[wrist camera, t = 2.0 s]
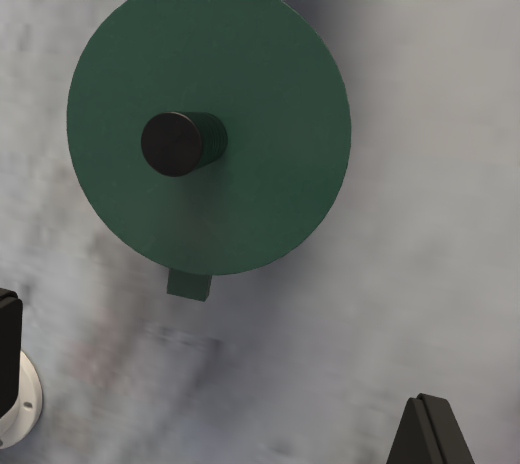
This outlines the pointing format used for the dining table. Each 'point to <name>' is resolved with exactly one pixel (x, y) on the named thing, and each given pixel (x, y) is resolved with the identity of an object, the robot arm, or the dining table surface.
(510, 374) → the dining table surface
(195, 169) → the pot lid
